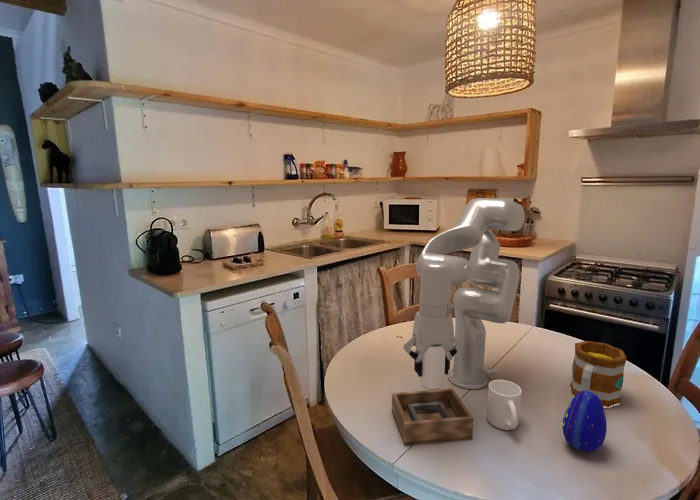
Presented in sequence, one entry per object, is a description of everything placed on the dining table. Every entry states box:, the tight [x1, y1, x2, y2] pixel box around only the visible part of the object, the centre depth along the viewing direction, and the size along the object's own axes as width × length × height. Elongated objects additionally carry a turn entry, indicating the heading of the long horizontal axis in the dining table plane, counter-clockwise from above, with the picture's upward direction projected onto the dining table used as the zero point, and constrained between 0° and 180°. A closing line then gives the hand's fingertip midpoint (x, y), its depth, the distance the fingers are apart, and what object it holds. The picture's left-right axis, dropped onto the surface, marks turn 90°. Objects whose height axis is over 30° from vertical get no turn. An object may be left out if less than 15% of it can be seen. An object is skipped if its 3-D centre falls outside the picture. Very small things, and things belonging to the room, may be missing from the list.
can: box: [418, 345, 446, 390], centre depth 101 cm, size 6×6×12 cm
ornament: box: [562, 391, 608, 453], centre depth 95 cm, size 11×9×15 cm
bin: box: [391, 388, 475, 447], centre depth 105 cm, size 18×14×6 cm
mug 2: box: [569, 340, 628, 407], centre depth 115 cm, size 20×14×15 cm
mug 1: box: [486, 379, 522, 431], centre depth 104 cm, size 12×8×10 cm
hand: (431, 372), depth 102 cm, fingers closed on can, 6 cm apart
